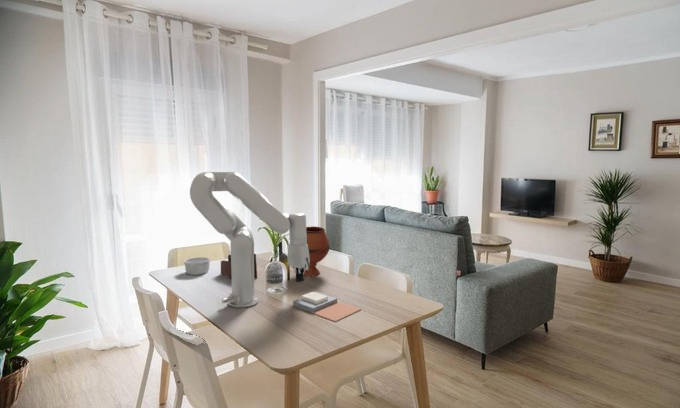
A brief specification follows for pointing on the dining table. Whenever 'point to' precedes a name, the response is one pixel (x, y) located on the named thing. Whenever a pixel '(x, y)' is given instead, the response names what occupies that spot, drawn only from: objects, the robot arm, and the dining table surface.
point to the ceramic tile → (314, 297)
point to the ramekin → (197, 265)
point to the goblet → (316, 248)
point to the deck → (314, 307)
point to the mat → (337, 311)
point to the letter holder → (227, 267)
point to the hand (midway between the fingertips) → (299, 281)
